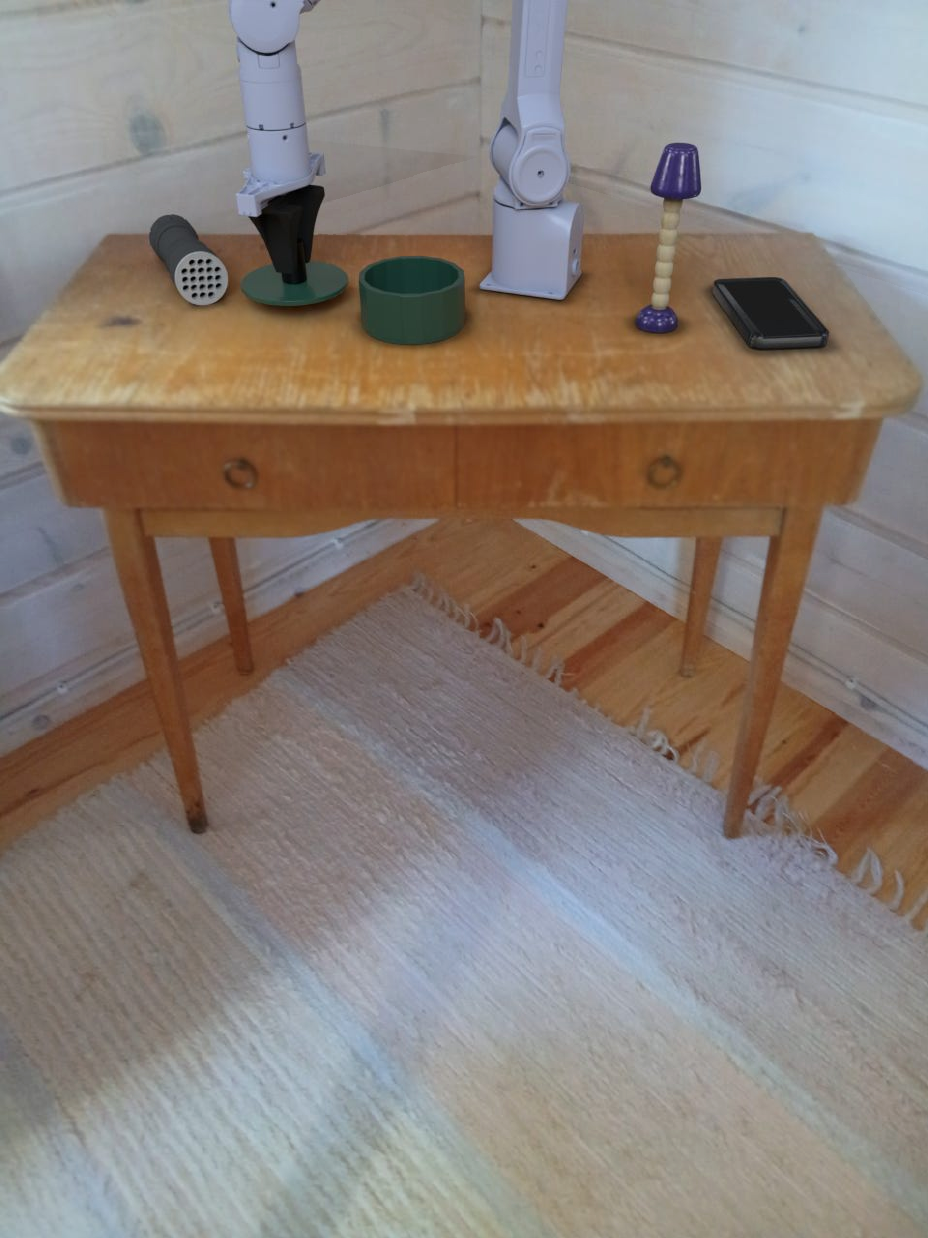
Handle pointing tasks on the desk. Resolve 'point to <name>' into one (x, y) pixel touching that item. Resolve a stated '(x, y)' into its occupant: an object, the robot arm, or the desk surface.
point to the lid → (295, 283)
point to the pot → (412, 299)
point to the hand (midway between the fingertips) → (293, 266)
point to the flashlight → (188, 260)
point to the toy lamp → (669, 228)
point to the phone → (769, 313)
